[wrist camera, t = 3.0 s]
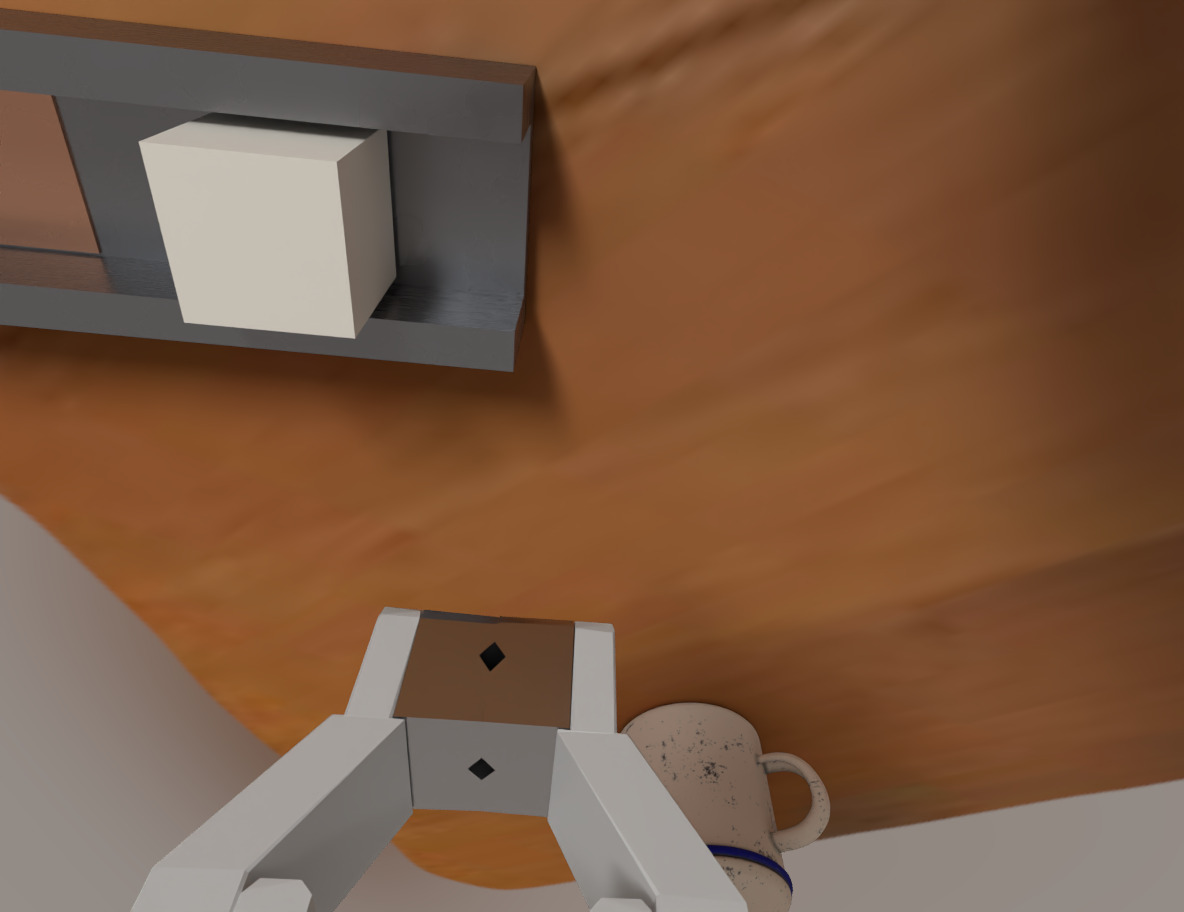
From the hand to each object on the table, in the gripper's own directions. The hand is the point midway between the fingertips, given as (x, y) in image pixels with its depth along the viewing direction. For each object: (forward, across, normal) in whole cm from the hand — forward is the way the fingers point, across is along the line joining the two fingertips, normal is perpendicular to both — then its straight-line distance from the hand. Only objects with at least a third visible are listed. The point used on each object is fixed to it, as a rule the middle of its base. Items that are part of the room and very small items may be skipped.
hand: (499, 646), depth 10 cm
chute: (+19, +13, 0) cm, 23 cm away
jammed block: (+18, +8, 0) cm, 20 cm away
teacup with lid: (+20, -11, +30) cm, 37 cm away
